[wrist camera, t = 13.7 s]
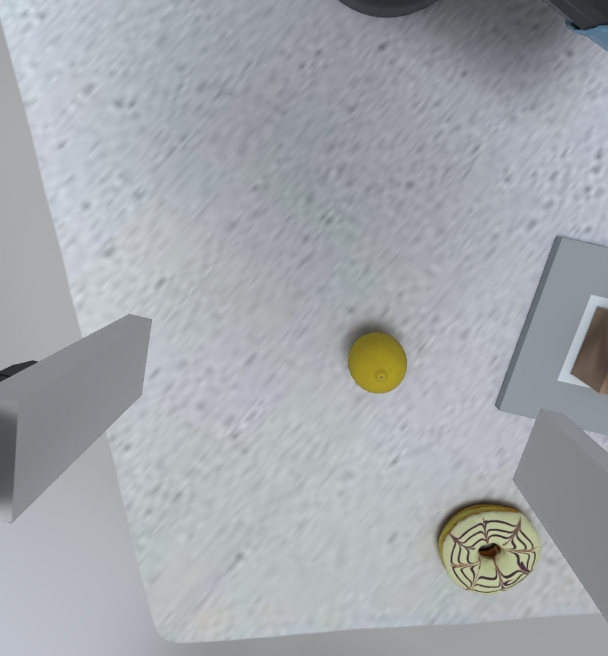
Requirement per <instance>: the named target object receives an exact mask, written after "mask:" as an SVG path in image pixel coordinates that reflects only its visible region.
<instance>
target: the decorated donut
mask: <svg viewBox="0 0 608 656" xmlns="http://www.w3.org/2000/svg"><path fill="white" fill-rule="evenodd" d="M490 543H496V545H495V546H494V547H493V548H492V549H490V550H488V551H480V550H478V549H479V548H480V547H481V546H482V545H486V544H490ZM540 551H541V544H540V538H539V535H538V533H537V531H536V530H535V528H534V527H533V526H532V525H531V523H530V522H529V521H528V520H527V518H526V517H525V515H524V514H522V513H521V512H519V511H517V510H516V509H514V508H510V507H504V506H499V505H474V506H471V507H467V508H465V509H464V510H461V511H459V512H458V513H457V514H455V515H454V516H453V517H452V518H451V519H450V520H449V522H448V523H447V524H446V525H445V527H444V529H443V531H442V533H441V536H440V538H439V552H440V557H441V559H442V564H443V565H444V567H445V569H446V571H447V574H448V576H449V577H450V579H451V580H452V581H453V582H454V583H455V584H456V585H458V586H460V587H462V588H463V589H465V590H468V591H471V592H475V593H481V594H485V595H492V594H496V593H499V592H503V591H507V590H509V589H511V588H512V587H514V586H515V585H516V584H518V583H520V582H521V581H523V580H524V579H525V578H526V577H527V576H528V575H529V574H530V573H531V572H532V571H533V570H534V568H535V566H536V564H537V562H538V561H539V557H540Z"/></svg>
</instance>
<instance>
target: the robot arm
mask: <svg viewBox="0 0 608 656" xmlns="http://www.w3.org/2000/svg"><path fill="white" fill-rule="evenodd" d="M340 1H341V2H343V3H344V4H346V5H347V6H349V7H351V8H352V9H355V10H357V11H359V12H362V13H364V14H368V15H372V16H379V17H397V16H403V15H407V14H411V13H414V12H417V11H419V10H422V9H424V8H426V7H428V6H429V5H431V4H433V3H434V2H436V1H437V0H340ZM543 1H544V2H546V3H547V4H548V5H549V6H550V7H552V8H553V9H554V10H555V11H556V12H558V13H559V14H560V15H561V16H562V17H564V18H565V24H566V25H567V26H568V28H569V29H571V30H572V31H573V32H575V33H578V34H581V35H585V36H587V37H589V38H590V39H591V40H593V41H594V42H595V43H597V44H598V45H599V46H601V47H602V48H603V49H605V50H606V51H608V0H543ZM151 322H152V319H149V318H144V317H140V316H135V315H131V314H128V315H127V316H125V317H123V318H121V319H119V320H117V321H115V322H113V323H111V324H109V325H108V326H106V327H104V328H102V329H100V330H98V331H96V332H94V333H92V334H90V335H89V336H87V337H85V338H83V339H81V340H79V341H78V342H75V343H74V344H72V345H70V346H68V347H66V348H64V349H62V350H60V351H58V352H56V353H54V354H53V355H51V356H49V357H47V358H45V359H43V360H41V361H39V362H37V361H29V362H25V363H20V364H15V365H12V366H10V367H8V368H6V369H4V370H2V371H0V521H3V522H8V523H13V522H14V521H15V520H16V519H17V518H18V517H19V515H21V514H22V513H23V512H24V511H25V510H26V509H27V508H28V506H30V505H31V504H32V503H33V502H34V501H35V500H36V499H37V498H38V497H39V496H40V495H41V494H42V493H43V492H44V491H45V490H46V489H47V488H48V487H49V486H50V485H51V484H52V483H53V482H54V481H55V480H56V479H57V478H58V477H59V476H60V475H61V474H62V473H63V472H64V471H65V470H66V469H67V468H68V467H69V466H70V465H71V464H72V463H73V462H74V461H75V460H76V459H77V458H78V457H79V456H80V455H81V454H82V453H83V452H84V451H85V450H86V449H87V448H88V447H89V446H90V445H91V444H92V443H93V442H94V441H95V440H97V438H99V437H100V436H101V435H102V434H103V433H104V432H105V431H106V430H107V429H108V428H109V427H110V426H111V425H112V424H113V423H114V422H115V421H116V420H117V419H118V418H119V417H120V416H121V415H122V414H123V413H124V412H125V411H126V410H127V409H128V408H129V407H130V406H131V405H132V404H133V403H134V402H135V401H136V400H137V399H138V398H139V397H140V396H141V395H142V389H143V381H144V374H145V366H146V359H147V352H148V344H149V337H150V330H151ZM513 481H514V483H515V484H516V486H517V487H518V489H519V490H520V492H521V493H522V495H523V496H524V498H525V499H526V501H527V502H528V504H529V505H530V507H531V508H532V510H533V511H534V513H535V514H536V516H537V517H538V519H539V520H540V522H541V523H542V525H543V526H544V528H545V529H546V531H547V532H548V534H549V535H550V537H551V538H552V540H553V541H554V543H555V544H556V546H557V547H558V549H559V550H560V552H561V553H562V555H563V556H564V558H565V559H566V561H567V562H568V564H569V565H570V567H571V568H572V570H573V571H574V573H575V574H576V576H577V577H578V579H579V580H580V582H581V583H582V585H583V586H584V588H585V589H586V591H587V592H588V594H589V595H590V597H591V598H592V600H593V601H594V603H595V604H596V606H597V607H598V609H599V610H600V612H601V613H602V614H603V616H604V618H605V619H606V620H607V622H608V453H607V452H606V451H605V450H604V449H603V448H602V447H601V446H600V445H598V444H597V443H596V442H595V441H594V440H593V439H592V438H591V437H589V436H588V435H587V434H586V433H585V432H584V431H583V430H581V429H580V428H579V427H578V426H577V425H576V424H575V423H574V422H572V421H571V420H570V419H569V418H568V417H567V416H566V415H565V414H563V413H560V412H555V411H551V410H546V409H542V408H540V411H539V414H538V416H537V419H536V421H535V424H534V426H533V429H532V431H531V434H530V437H529V439H528V442H527V444H526V447H525V449H524V452H523V454H522V457H521V459H520V462H519V465H518V467H517V470H516V472H515V475H514V477H513Z"/></svg>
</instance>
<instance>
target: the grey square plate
mask: <svg viewBox="0 0 608 656" xmlns="http://www.w3.org/2000/svg"><path fill="white" fill-rule="evenodd" d="M597 307H599V308H604V309H608V248H606V247H602V246H597V245H593V244H589V243H584V242H580V241H575V240H571V239H567V238H562V237H556V239H555V242H554V244H553V247H552V250H551V253H550V255H549V258H548V261H547V264H546V266H545V269H544V272H543V275H542V277H541V280H540V283H539V286H538V289H537V291H536V294H535V297H534V300H533V302H532V305H531V308H530V311H529V313H528V316H527V319H526V322H525V324H524V327H523V330H522V333H521V335H520V338H519V341H518V344H517V347H516V349H515V352H514V355H513V358H512V360H511V363H510V366H509V369H508V371H507V374H506V377H505V380H504V382H503V385H502V388H501V391H500V393H499V396H498V399H497V402H496V405H495V406H496V407H497V408H498V410H500V411H504V412H508V413H513V414H517V415H521V416H526V417H530V418H534V419H537V416H538V414H539V411H540V408H542V409H546V410H551V411H555V412H560V413H563V414H565V415H566V416H567V417H568V418H569V419H570V420H571V421H572V422H574V423H575V424H576V425H577V426H578V427H579V428H580V429H583V430H587V431H591V432H596V433H600V434H604V435H608V395H604V394H600V393H598V392H596V391H595V390H594V389H592V388H591V387H589V386H588V385H586V384H585V383H583V382H582V381H581V380H579V379H578V378H576V377H575V376H573V375H572V374H571V372H572V369H573V367H574V364H575V362H576V359H577V357H578V354H579V352H580V349H581V347H582V344H583V342H584V339H585V337H586V334H587V332H588V329H589V327H590V324H591V322H592V319H593V317H594V314H595V312H596V309H597Z"/></svg>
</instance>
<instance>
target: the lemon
mask: <svg viewBox="0 0 608 656" xmlns="http://www.w3.org/2000/svg"><path fill="white" fill-rule="evenodd" d="M348 367H349V371H350V373H351V376H352V378H353V379H354V381H355V382H356V383H357V384H358V385H359V386H360V387H361V388H363V389H364V390H366V391H368V392H372V393H386V392H389V391H391V390H393V389H395V388H396V387H397V386H398V385H399V384H400V383H401V382H402V380H403V378H404V376H405V373H406V368H407V359H406V354H405V352H404V350H403V348H402V346H401V345H400V344H399V342H398V341H397V340H396V339H394V338H393V337H391V336H390V335H387V334H384V333H378V332H374V333H369V334H366V335H364V336H362V337H360V338H359V339H358V340H357V341H356V342H355V343H354V344H353V346H352V348H351V350H350V352H349V357H348Z"/></svg>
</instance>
